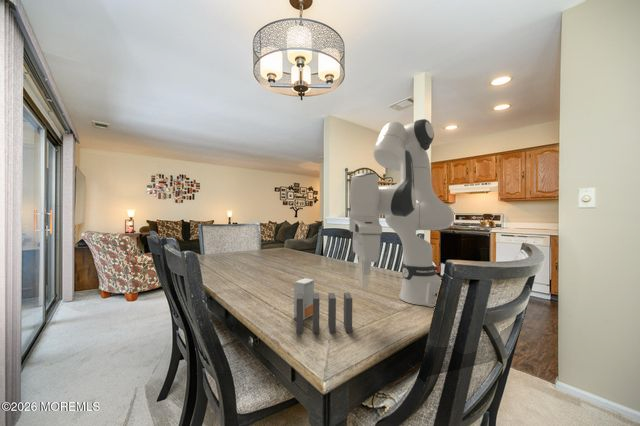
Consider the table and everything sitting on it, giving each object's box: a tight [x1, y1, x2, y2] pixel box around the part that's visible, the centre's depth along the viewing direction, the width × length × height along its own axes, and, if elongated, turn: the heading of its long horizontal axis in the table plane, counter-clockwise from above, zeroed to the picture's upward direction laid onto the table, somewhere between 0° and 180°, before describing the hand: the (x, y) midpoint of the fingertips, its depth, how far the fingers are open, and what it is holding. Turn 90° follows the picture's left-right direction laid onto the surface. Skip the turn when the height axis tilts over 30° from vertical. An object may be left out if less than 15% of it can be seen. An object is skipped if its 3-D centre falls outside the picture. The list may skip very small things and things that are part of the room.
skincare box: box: [293, 277, 315, 321], centre depth 86 cm, size 6×4×12 cm
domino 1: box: [295, 293, 304, 334], centre depth 76 cm, size 2×5×10 cm, turn 3°
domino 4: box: [343, 292, 353, 334], centre depth 77 cm, size 2×5×10 cm, turn 3°
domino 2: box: [312, 292, 320, 334], centre depth 76 cm, size 2×5×10 cm, turn 3°
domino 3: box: [327, 292, 337, 334], centre depth 76 cm, size 2×5×10 cm, turn 3°
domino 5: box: [358, 257, 369, 289], centre depth 77 cm, size 2×5×10 cm, turn 3°
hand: (363, 271), depth 77 cm, fingers closed on domino 5, 5 cm apart
